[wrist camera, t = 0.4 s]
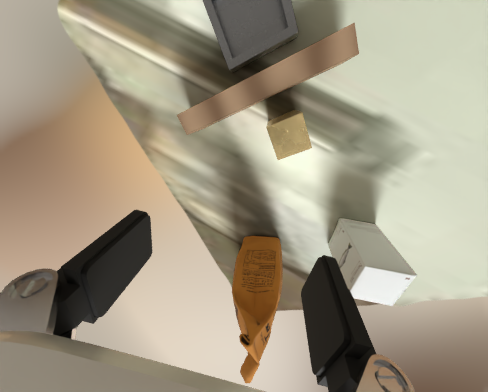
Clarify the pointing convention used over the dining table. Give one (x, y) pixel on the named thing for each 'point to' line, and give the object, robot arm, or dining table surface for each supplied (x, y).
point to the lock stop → (288, 134)
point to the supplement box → (369, 262)
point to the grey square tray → (251, 28)
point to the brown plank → (273, 80)
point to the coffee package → (256, 295)
